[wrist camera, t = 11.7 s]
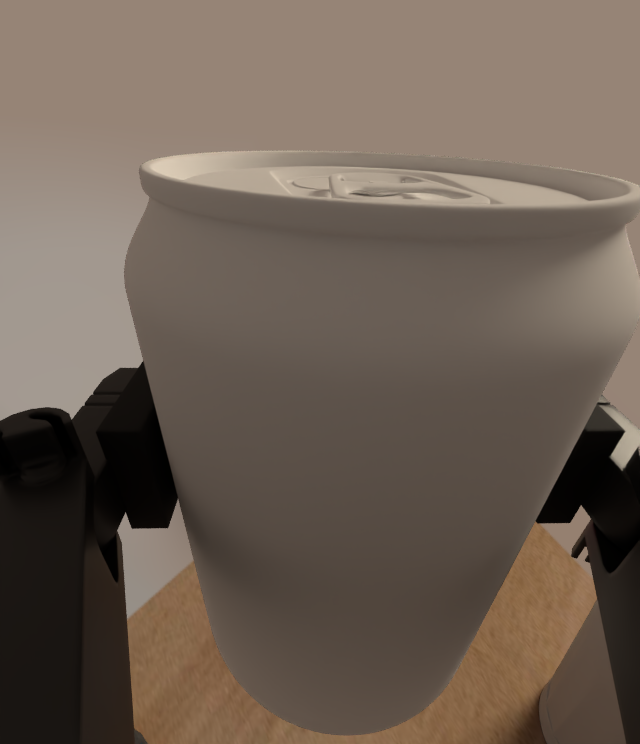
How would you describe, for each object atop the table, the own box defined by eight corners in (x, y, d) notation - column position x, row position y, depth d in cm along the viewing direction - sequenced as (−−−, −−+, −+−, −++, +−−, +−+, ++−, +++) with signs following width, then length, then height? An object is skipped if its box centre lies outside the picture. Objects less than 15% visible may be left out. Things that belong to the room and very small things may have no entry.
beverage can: (416, 476, 17) (493, 154, 10) (519, 721, 10) (957, 222, 3) (223, 489, 16) (169, 144, 9) (189, 770, 9) (-108, 214, 2)
